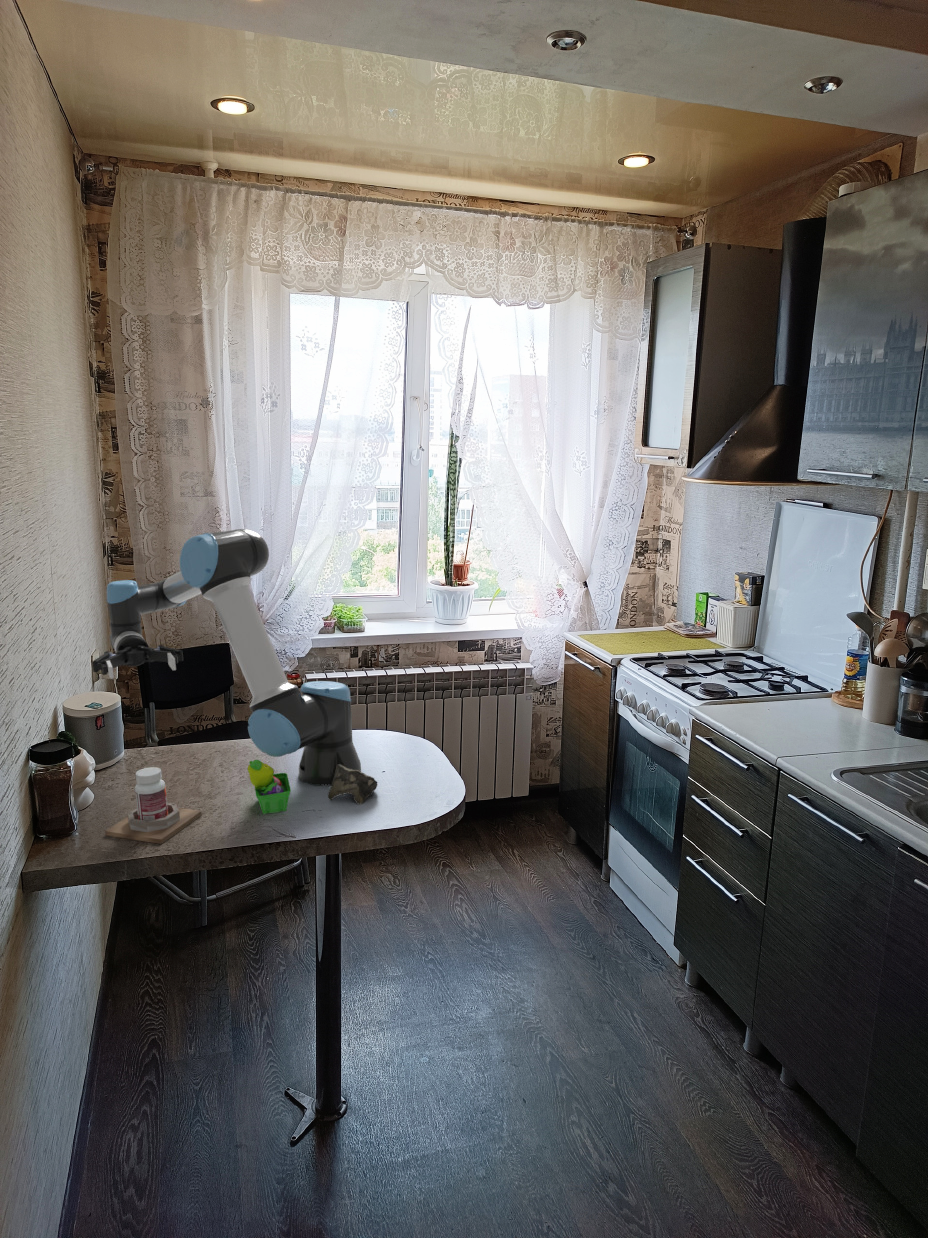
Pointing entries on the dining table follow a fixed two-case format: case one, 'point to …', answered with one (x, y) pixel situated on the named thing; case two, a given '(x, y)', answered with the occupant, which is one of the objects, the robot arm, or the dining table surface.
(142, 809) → the pill bottle
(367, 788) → the fossil
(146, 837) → the carrier plate
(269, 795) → the fruit basket
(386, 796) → the dining table surface
